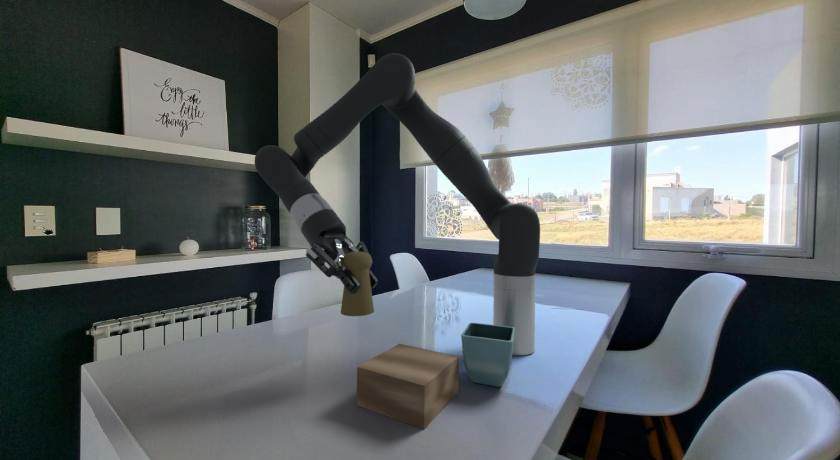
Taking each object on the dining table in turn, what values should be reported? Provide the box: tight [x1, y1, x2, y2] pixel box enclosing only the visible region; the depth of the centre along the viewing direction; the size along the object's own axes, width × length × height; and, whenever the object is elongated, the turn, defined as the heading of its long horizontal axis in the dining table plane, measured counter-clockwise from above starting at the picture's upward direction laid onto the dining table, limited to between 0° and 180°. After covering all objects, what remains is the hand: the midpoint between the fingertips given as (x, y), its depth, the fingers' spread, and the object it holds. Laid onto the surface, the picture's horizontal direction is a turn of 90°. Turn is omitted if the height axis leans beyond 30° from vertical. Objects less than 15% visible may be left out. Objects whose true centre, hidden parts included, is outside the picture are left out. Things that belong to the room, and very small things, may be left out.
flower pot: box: [460, 322, 515, 388], centre depth 60 cm, size 9×9×9 cm
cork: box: [340, 252, 375, 317], centre depth 60 cm, size 6×6×11 cm
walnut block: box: [356, 343, 460, 430], centre depth 53 cm, size 12×12×6 cm
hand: (365, 287), depth 59 cm, fingers closed on cork, 4 cm apart
